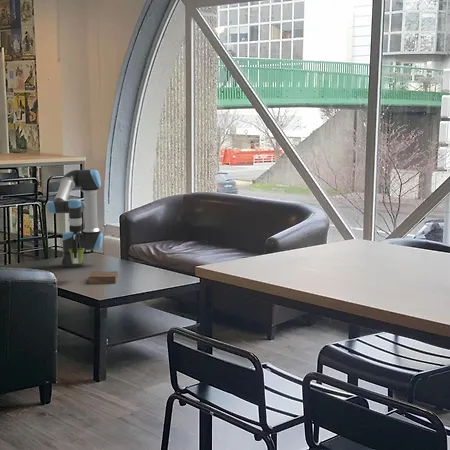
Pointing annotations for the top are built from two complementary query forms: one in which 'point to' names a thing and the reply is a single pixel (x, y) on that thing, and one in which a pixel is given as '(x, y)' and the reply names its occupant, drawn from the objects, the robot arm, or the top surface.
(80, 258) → the plant pot
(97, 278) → the walnut plinth
